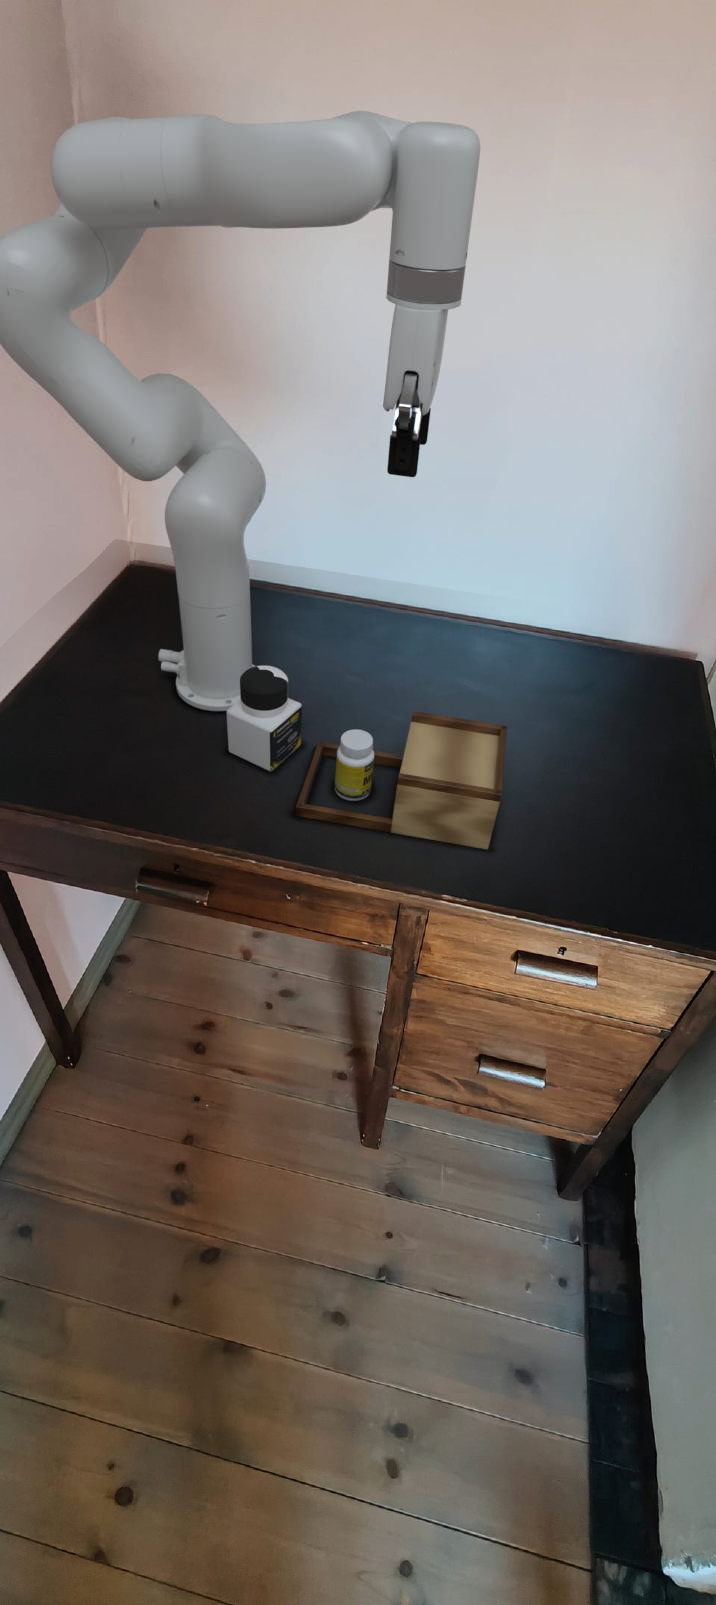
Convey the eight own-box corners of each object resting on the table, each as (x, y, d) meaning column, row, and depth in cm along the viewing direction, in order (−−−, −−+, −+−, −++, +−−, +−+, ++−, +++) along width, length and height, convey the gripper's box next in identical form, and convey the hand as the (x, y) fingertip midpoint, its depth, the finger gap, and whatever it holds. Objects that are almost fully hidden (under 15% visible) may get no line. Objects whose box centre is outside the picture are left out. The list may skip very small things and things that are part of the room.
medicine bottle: (271, 773, 108) (270, 699, 100) (227, 752, 111) (223, 678, 102) (301, 745, 113) (303, 671, 104) (259, 725, 115) (257, 652, 107)
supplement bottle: (367, 805, 105) (372, 754, 99) (330, 798, 105) (333, 748, 100) (373, 780, 108) (379, 730, 103) (338, 774, 109) (342, 724, 103)
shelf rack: (295, 815, 103) (296, 759, 96) (318, 750, 112) (320, 695, 106) (487, 849, 101) (501, 794, 94) (494, 780, 110) (507, 725, 104)
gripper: (399, 262, 88) (386, 427, 100) (374, 300, 76) (362, 484, 88) (469, 269, 88) (447, 435, 100) (454, 309, 75) (432, 493, 87)
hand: (407, 458), depth 94 cm, fingers open, 9 cm apart
